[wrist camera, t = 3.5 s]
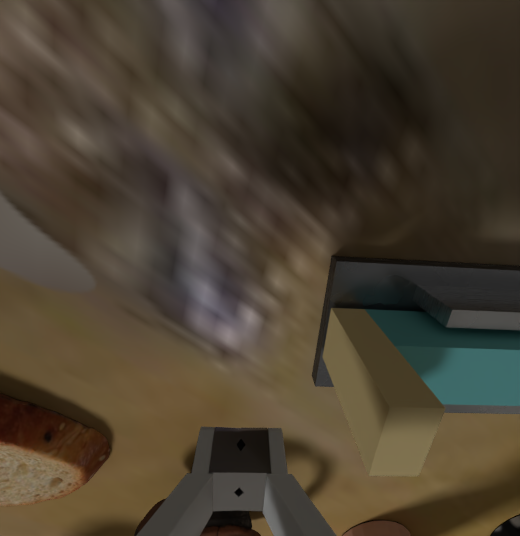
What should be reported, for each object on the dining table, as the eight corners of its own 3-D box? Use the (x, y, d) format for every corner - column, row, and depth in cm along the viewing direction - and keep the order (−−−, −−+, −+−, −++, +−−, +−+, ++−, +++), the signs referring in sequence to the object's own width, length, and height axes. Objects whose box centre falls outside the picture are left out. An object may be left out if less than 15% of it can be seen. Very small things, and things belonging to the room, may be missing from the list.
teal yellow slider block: (331, 307, 16) (389, 407, 9) (569, 317, 17) (780, 415, 10) (322, 356, 17) (368, 475, 10) (545, 363, 18) (719, 478, 11)
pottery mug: (298, 447, 22) (324, 599, 17) (256, 461, 29) (266, 574, 24) (144, 462, 18) (118, 673, 13) (135, 474, 25) (115, 618, 19)
